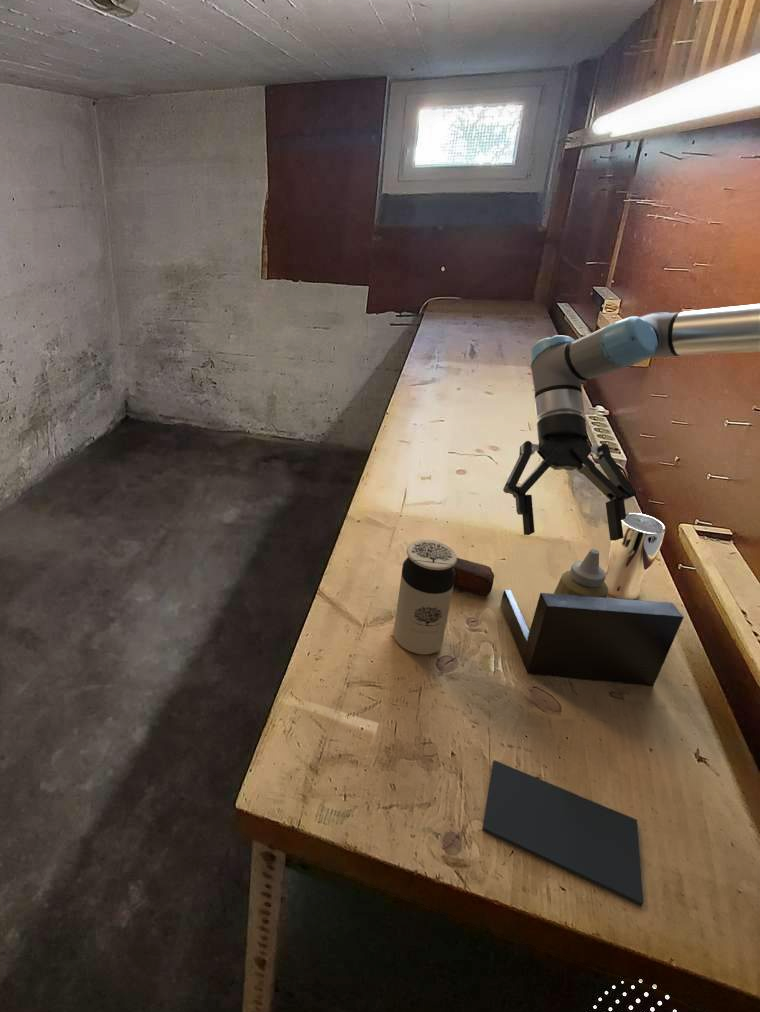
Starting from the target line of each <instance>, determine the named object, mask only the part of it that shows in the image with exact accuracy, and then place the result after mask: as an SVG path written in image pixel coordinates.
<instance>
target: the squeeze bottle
mask: <svg viewBox="0 0 760 1012" xmlns="http://www.w3.org/2000/svg"><path fill="white" fill-rule="evenodd" d="M605 576H606V571H605V570H604V569H603V568H602V567H601V566H600V551H599V550H598V549H596V548H591V549H590V550H589V551H588V552H587V554H586V555H585V557H584V558H583V559H582V561H581V560H579V561H575V562H572V564H571V567H570V570H567V571H565V572H563V573H562V574H561V577H560V578H559V581H558V582H557V585H556V587H555V589H554V591H553V594H563V595H577V596H590V597H603V598H607V597H608V594H607V593H608V587H607V585H606V583H605V582H604V580H605Z"/></svg>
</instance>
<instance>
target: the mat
mask: <svg viewBox="0 0 760 1012" xmlns="http://www.w3.org/2000/svg"><path fill="white" fill-rule="evenodd" d="M486 798H487V799H486V805H485V811H484V817H483V823H482V828H481V829H482V832H485V833H487V834H489V835H491V836H492V837H495V838H498V839H499V840H502V841H503V842H506V843H508V844H510V845H512V846H514V847H516V848H518V849H521V850H523V851H524V852H526V853H529V854H531V855H533V856H535V857H537V858H539V859H541V860H543V861H546V862H547V863H550V864H552V865H553V866H556V867H559V868H561V869H562V870H565V871H566V872H569V873H571V874H573V875H575V876H576V877H579V878H581V879H583V880H585V881H587V882H590V883H591V884H593V885H596V886H598V887H600V888H602V889H604V890H606V891H608V892H611V893H612V894H615V895H617V896H619V897H621V898H623V899H625V900H628V901H629V902H632V903H634V904H636V905H638V906H640V907H642V906H643V905H644V894H643V893H644V892H643V881H642V868H641V855H640V840H639V828H638V820H637V819H636V818H633V817H631V816H630V815H627V814H625V813H621V812H619V811H617V810H614V809H613V808H609V807H607V806H605V805H603V804H600V803H598V802H595V801H593V800H591V799H588V798H586V797H584V796H581V795H578V794H576V793H575V792H571V791H569V790H566V789H564V788H562V787H559V786H558V785H555V784H552V783H550V782H548V781H545V780H543V779H541V778H538V777H535V776H533V775H531V774H528V773H527V772H524V771H521V770H519V769H517V768H514V767H511V766H509V765H507V764H504V763H502V762H500V761H498V760H495V759H493V761H492V765H491V773H490V778H489V785H488V792H487V797H486Z"/></svg>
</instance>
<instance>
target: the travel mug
mask: <svg viewBox="0 0 760 1012" xmlns="http://www.w3.org/2000/svg"><path fill="white" fill-rule="evenodd" d="M406 556H407V557H406V558H405V559H404V561H403V562H402V569H401V576H400V584H399V590H398V598H397V603H396V612H395V618H394V627H393V637H394V639H395V641H396V642H397V644H398V645H399V646H400V647H402V648H403V649H405V650H406V651H409V652H410V653H413V654H418V655H432V654H435V653H436V652H438V651H439V650H441V648H442V646H443V642H444V638H445V632H446V628H447V623H448V617H449V611H450V606H451V601H452V596H453V591H454V587H453V586H454V581H455V576H456V573H455V570H454V568H453V566H454V565H455V563H456V562H457V558H458V556H457V554H456V552H455V551H454V550H453V549H452V547H450V546H449V545H447V544H446V543H443V542H441V541H438V540H433V539H418V540H414V541H412V542H410V543H409V544H408V545H407V547H406Z"/></svg>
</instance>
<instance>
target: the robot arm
mask: <svg viewBox="0 0 760 1012" xmlns="http://www.w3.org/2000/svg"><path fill="white" fill-rule="evenodd" d="M530 353H531V356H530V357H531V358H530V361H531V362H530V370H531V375H532V381H533V389H534V405H535V419H536V420H537V421H538V422H536V431H537V440H538V443H537V444H536V443H532V442H531V441H530V440H526V441H524V442H523V443H522V444H521V445H520V446H519V453H518V454H519V455H518V458H517V460H516V462H515V465H514V466H513V468H512V470H511V473H510V474H509V476H508V478H507V480H506V482H505V484H504V486H503V489H502V490H503V492H504V494H511V495H512V497H513V498H514V499H515V509H516V511H515V512H516V513H517V515H521V516H522V527H523V535H524V536H530V535H532V534H534V533H535V532H536V531H535V522H534V521H535V520H534V507H533V497H532V494H527V493H528V492H529V490H530V489H531V488H532V487H533V486H534V485H535V484H536V482H537V481H538V480H539V479H540V478H541V477H542V476H543V475H544V474H545V473H546V471H547V470H548V469H549V468H551V469H553V470H554V471H560V470H565V471H572V472H573V471H574V470H576V471H577V472H578V473H579V474H581V475H583V476H584V477H586V478H587V479H588V480H589V481H590V482H591V483H592V484H593V485H594V486H595V487H596V488H597V489H598V490H599V491H600V492H601V493H602V494H603V495H604V496H605V497H606V498H607V499H608V500H609V501H606V502H605V507H606V510H605V511H606V516H607V517H606V518H607V525H608V533H609V540H610V541H612V540H614V541H615V540H618V539H622V538H624V537H623V529H622V521H621V520H623V519H625V518H626V513H627V512H626V506H625V501H626V500H628V499H631V498H633V497H635V496H636V495H637V491H636V490H635V488H634V487H633V485H632V484H631V482H630V481H629V479H628V477H626V475H625V473H624V472H623V471H622V470H621V468H620V466H619V465H618V464H617V462H616V460H615V459H614V458H613V456H612V454H611V450H610V446H609V445H608V444H607V443H602V444H601V445H597V446H594V445H593V446H591V445H589V442H588V431H587V430H588V429H587V422H586V421H587V420H586V418H585V417H584V416H585V415H586V413H585V412H586V411H585V405H584V397H583V387H582V385H583V384H582V383H584V382H587V381H590V380H593V379H595V378H598V377H601V376H603V375H604V376H605V375H606V374H610V373H613V372H616V371H618V370H621V369H624V368H626V367H631V366H635V365H637V364H639V363H642V362H643V361H645V360H648V359H652V358H667V357H669V358H671V357H682V356H700V355H702V356H703V355H723V354H744V353H746V354H747V353H760V303H751V304H744V305H743V304H742V305H733V306H725V307H715V308H705V309H695V310H685V311H679V312H666V311H660V312H651V313H645V314H643V315H640V316H637V315H634V316H633V315H632V316H629V317H626V318H623V319H619V320H617V321H613V322H611V323H609V324H608V325H606V326H604V327H602V328H600V329H597V330H596V331H593V332H591V333H589V334H586V335H584V336H582V337H579V338H578V339H574V338H573V337H571V336H569V335H559V334H558V335H553V336H552V337H545V338H542V339H540V340H538V341H537V342H535V344H534V345H533V346H532V348H531V352H530ZM535 453H537V454H538V455H539V456H540V457H541V459H542V461H541V462H540V463H539V464H538V465H537V466H536V467H535V469H534V470H533V471H532V472H531V473H530V474H529V475H528V477H527V478H526V479H525V480H524V481H523V482H522V484H520V486H518V483H519V481H520V479H521V477H522V475H523V473H524V471H525V469H526V467H527V464H529V461H530V459H531V456H533V455H534V454H535ZM590 455H592V459H595V460H596V461H597V464H598V465H599V467H600V468H601V470H602V471H603V472H602V471H601V470H600V469H599V468H598V467H597V466H596V464H595V463H594V461H593V460H592V459H591V458H590V457H589V456H590Z"/></svg>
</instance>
